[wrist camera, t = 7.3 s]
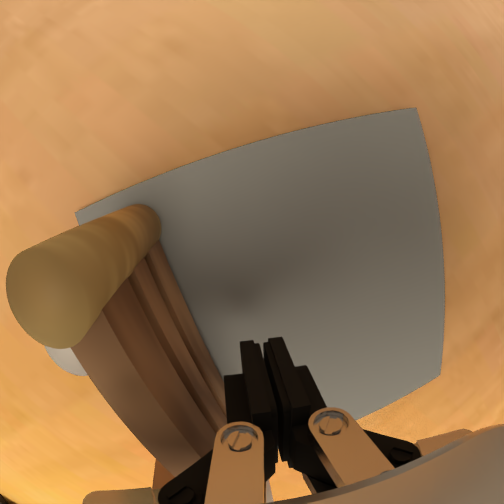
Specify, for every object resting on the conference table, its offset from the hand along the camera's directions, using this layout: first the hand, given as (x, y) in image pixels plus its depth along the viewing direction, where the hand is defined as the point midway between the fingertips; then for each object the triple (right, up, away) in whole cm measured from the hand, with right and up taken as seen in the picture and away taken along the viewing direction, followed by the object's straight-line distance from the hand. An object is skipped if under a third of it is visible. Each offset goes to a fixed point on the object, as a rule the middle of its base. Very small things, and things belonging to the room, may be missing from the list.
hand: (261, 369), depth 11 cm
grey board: (+2, 0, +7) cm, 7 cm away
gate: (-4, 0, +5) cm, 6 cm away
